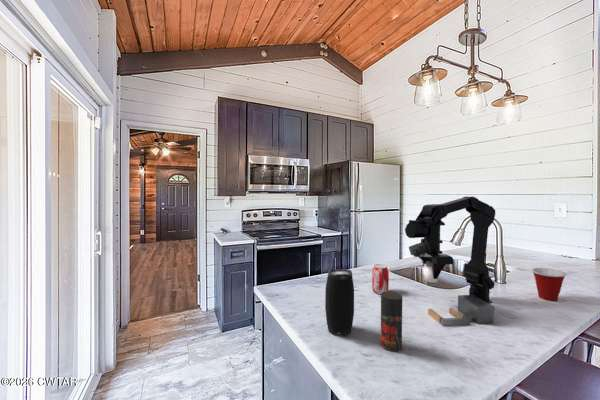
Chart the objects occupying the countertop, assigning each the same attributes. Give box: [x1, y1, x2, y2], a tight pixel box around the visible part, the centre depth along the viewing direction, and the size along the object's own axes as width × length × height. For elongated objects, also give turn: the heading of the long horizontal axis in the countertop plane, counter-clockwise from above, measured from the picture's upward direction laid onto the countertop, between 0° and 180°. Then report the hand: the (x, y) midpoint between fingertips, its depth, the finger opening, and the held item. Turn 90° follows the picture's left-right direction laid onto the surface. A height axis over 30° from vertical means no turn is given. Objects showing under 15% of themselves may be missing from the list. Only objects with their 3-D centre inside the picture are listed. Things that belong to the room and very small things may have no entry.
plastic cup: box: [531, 267, 567, 302], centre depth 113 cm, size 11×11×12 cm
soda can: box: [371, 263, 390, 295], centre depth 120 cm, size 7×7×12 cm
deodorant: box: [380, 291, 403, 353], centre depth 78 cm, size 6×6×15 cm
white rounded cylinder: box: [423, 261, 439, 284], centre depth 105 cm, size 5×5×7 cm
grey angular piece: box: [427, 294, 495, 327], centre depth 97 cm, size 19×12×6 cm, turn 95°
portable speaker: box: [324, 268, 355, 336], centre depth 87 cm, size 9×9×20 cm
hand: (431, 276), depth 105 cm, fingers closed on white rounded cylinder, 5 cm apart
